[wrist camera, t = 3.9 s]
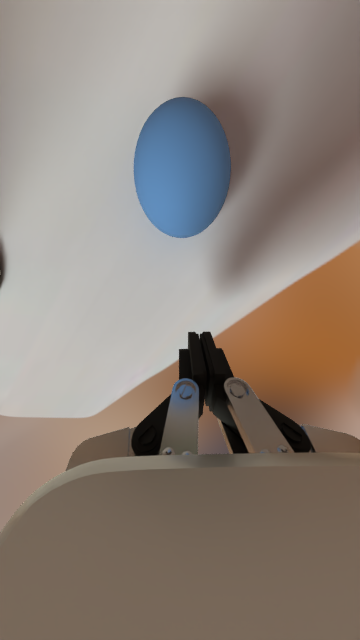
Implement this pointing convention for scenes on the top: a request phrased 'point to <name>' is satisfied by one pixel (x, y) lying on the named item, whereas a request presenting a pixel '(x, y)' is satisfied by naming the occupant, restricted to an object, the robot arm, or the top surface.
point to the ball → (182, 167)
